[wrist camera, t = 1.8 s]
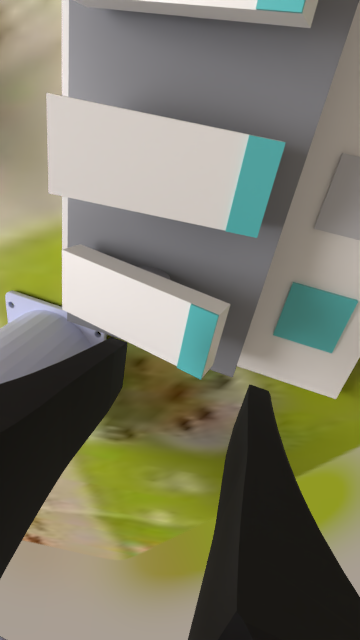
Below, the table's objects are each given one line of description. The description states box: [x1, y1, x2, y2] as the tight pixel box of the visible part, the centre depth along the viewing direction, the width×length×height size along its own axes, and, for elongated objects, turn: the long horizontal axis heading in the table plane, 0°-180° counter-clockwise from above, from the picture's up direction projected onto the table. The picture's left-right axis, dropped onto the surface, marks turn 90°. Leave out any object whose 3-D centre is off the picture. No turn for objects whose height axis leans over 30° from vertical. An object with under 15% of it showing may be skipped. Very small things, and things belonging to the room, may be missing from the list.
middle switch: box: [46, 93, 286, 238], centre depth 13 cm, size 3×8×2 cm, turn 79°
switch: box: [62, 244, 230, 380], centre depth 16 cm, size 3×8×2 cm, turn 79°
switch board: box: [62, 0, 360, 399], centre depth 15 cm, size 21×18×4 cm
